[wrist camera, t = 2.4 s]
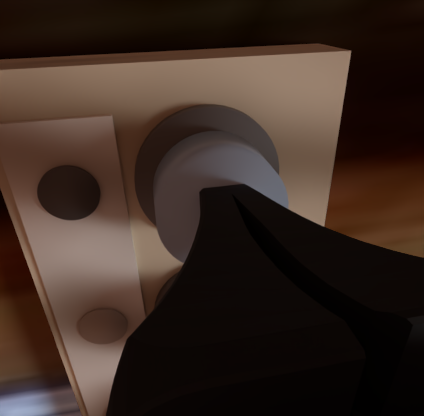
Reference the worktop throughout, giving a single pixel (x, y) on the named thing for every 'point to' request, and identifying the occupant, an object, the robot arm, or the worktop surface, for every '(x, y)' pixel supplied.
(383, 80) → the worktop surface
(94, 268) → the button board
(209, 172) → the button
